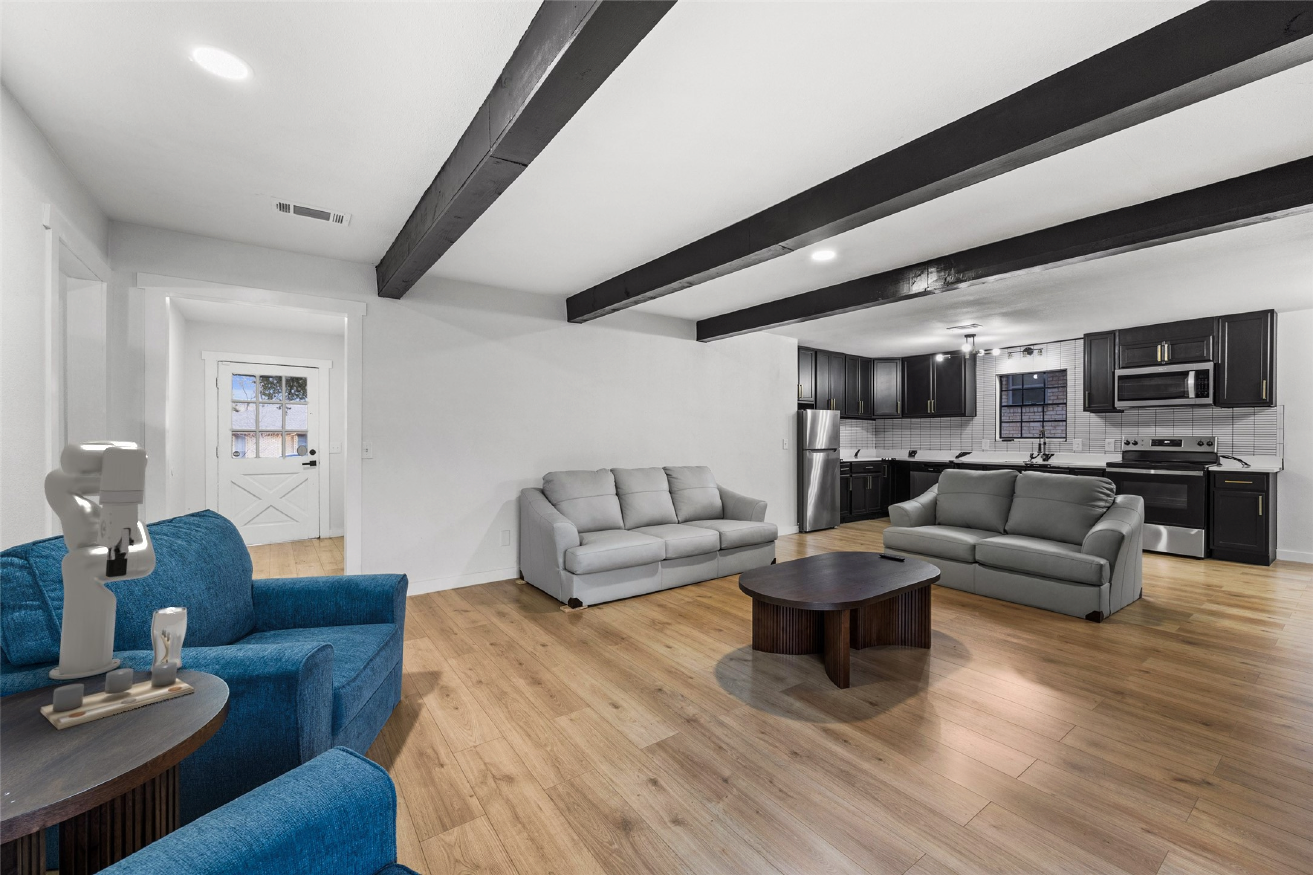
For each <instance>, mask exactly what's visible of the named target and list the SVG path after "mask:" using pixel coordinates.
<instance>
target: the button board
mask: <svg viewBox="0 0 1313 875" xmlns="http://www.w3.org/2000/svg"><path fill="white" fill-rule="evenodd" d="M151 682H152V679H151V680H147V681H143V682H142V681H141V682H139V683H135V684H132V688H131V689H130V690H127V691H124V692H121V693H115V694H106V693H105V691H102V692H98V693H93V694H89V695H86V696H83V704H82V705H81V706H79V707H77V708H74V709H71V710H66V711H53V703H52V704H49V705H45V706H44V705H43V706H41V707H40V713H41V714H42V716H44V717H45V718H46V719H47V720H48V721H49V722H50V723H51V724H52V725H53V726H54V727H55V728H56V729H57V731H59V730H63V729H67V728H70V727H74V726H78V725H82V724H85V723H88V722H92V721H96V720H100V719H103V717H104V718H107V717H110V716H114V715H113V714H115V715H117V713H118V714H122V713H124V712H123V711H126V712H128V710H129V711H132V709H133V710H135V709H134V708H137V709H139V708H138V707H140V708H142V707H141V706H143V705H146V704H150V703H153V702H156V701H161V700H163V699H167V698H172V697H174V696H178V695H181V694H185V693H189V692H192V691H194V692H195V688H194V687H193V686H191V685H190V684H188V683H186V682H185V681H183V680H181V679H179V678H177V677H176V681H175V682H174V683H172V684H168V685H164V686H151ZM121 712H122V713H121Z"/></svg>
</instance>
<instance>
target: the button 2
mask: <svg viewBox="0 0 1313 875" xmlns="http://www.w3.org/2000/svg"><path fill="white" fill-rule="evenodd" d="M177 670H178V669H177V663H174V662H170V663H163V664H159V665H156V666H154V667H153V668H152V672H151V680H152V682H151V686H164V685H168V684H172V683H174V682H175V681H176V678H177Z"/></svg>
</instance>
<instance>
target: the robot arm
mask: <svg viewBox="0 0 1313 875" xmlns="http://www.w3.org/2000/svg"><path fill="white" fill-rule="evenodd" d="M59 458H60V466H61V467H59V468H55V469H53V470H51V471H50V472H48V473H47V475H46V476H45V478H44V483H43V485H44V486H43V488H44V494H45V499H46V501H47V503H48V505H49V507H50V508H51V509H52V511H53V512H54V513H55V514H56V516H57V517H58V518H59V520H60V523H61V529H62V530H61V531H62V535H63V539H64V543H65V546H66V548H67V550H68V551H69V552H67V553H65V555H64V557H63V558H62V560H61V574H62V575H61V576H62V581H63V610H62V621H61V623H62V624H61V636H60V651H59V663H58V666H57V667H55V668H52V669H51V670H50V671H49V672H48V673H49V674H48V675H49V676H48V677H49V678H50V679H52V680H53V679H54V680H73V679H79V678H81V679H82V678H87V677H92V676H96V675H99V674H104V673H106V672H107V673H108V672H111V671H113V670H114V669H116V668H118V667H119V666H120V665H121V659H119V658H117V659H113V660H112V658H113V657H114V656H113V655H114V654H113V653H114V651H113V650H114V640H115V629H116V628H115V626H116V624H115V623H116V612H117V597H116V595H115V594H114V592H112V591H111V590H110V589H108V588H107V586H105V584H106V583H111V582H119V581H126V580H134V579H135V580H136V579H140V578H144V577H147V576H149V575H150V574H152V572H153V571H154V570H155V567H156V561H157V560H156V553H155V550H154V546H153V542H152V540H151V539H152V538H151V537H150V533H149V530H148V527H147V524H146V523H145V521H144V520H142V519H140V518H139V505H143V503H144V493H145V490H144V489H145V480H146V469H147V465H148V455H147V451H146V449H145V448H144V447H142V446H141V445H140V444H139V443H137V442H135V441H131V440H130V441H129V440H109V439H108V440H106V439H102V440H101V439H89V440H88V439H87V440H82V441H80V442H72V443H71V442H70V443H68V444H66V445H65V446H64V448H63V449H62V451H61V455H60V457H59ZM88 497H99V499H98V503H96V502H95V501H93V500H91V499H89V498H88Z"/></svg>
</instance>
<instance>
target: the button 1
mask: <svg viewBox="0 0 1313 875" xmlns="http://www.w3.org/2000/svg"><path fill="white" fill-rule="evenodd" d="M84 689H85V685H84V684H83V683H73V684H68V685H63V686H60V687H57V688H55V689H54V690H53V700H52V704H53V711H66V710H71V709H74V708H77V707H79V706H81V705H82V704H83V697H84Z"/></svg>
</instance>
